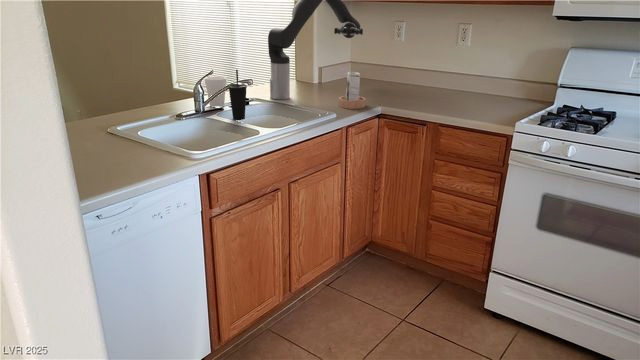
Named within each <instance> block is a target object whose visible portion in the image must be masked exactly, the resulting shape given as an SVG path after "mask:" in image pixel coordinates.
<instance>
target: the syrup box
mask: <svg viewBox="0 0 640 360" xmlns="http://www.w3.org/2000/svg"><path fill="white" fill-rule="evenodd" d="M346 78H347V79H346V89H345V90H346V93H345V96H346V100H348V101H359V97H360V86H361V85H360V84H361V83H360V82H361V81H360V80H361V73H360V72H357V71H348V72H347V77H346Z"/></svg>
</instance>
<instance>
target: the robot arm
mask: <svg viewBox="0 0 640 360" xmlns="http://www.w3.org/2000/svg"><path fill="white" fill-rule="evenodd" d="M323 1H324V0H298V1H297V2H296V3H295V5H294V6H293V7H292V13H291V15H292V16H291V20H290V21H289V23H288V24H287V26H285V27H284V28H281V27H274V28H271V29H270V30H269V32H268V36H267V44H268V45H267V46H268V56H269V59H270V79H269V88H270V89H269V91H270V92H269V93H270V94H269V95H270V98H269V99H274V100H289V99H290V96H291V91H290V90H291V86H290V82H291V79H290V78H291V76H290V75H291V74H290V73H291V72H290V71H291V69H290V67H291V66H290V65H291V64H290V63H291V61H290V60H291V58H290V57H289V55H287V54H286V53H285V51H284V49H286V50H287V49H289V48H290V47H291V46H292V44H293V43H294V42H295V40H296V38H297V36H299V33H300V32H301V30H302V29H303V27H304V26H305V24H306V23H307V21H309V19H310V18H311V17H312V15H313V14H314V13H315V11H316V10H317V9H318V7H319V6H320V4H321V3H322V2H323ZM325 2H326V3H327V4H328V6H329V7H330V9H332V11H333V13H334V14H335V17H336V18H337V20H338V22H340V23H341V24H343V25H341V27H340V28H339V27H334V32H333V33H334V35H337V34H338V35H341V36H343V37H345V38H346V39H352V38H355V36H359V35H361V36H362V35H364V34H363V33H364V29H363V28H361V23H359V21H358V20H357V19H356V18H355V17H353V15H352V14H351V12H350V10H349V9H348V7H347V6H346V4H345V3H344V2H343V1H342V0H325Z"/></svg>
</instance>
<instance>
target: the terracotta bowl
mask: <svg viewBox="0 0 640 360" xmlns="http://www.w3.org/2000/svg"><path fill="white" fill-rule="evenodd" d="M338 106H339V107H340V108H342V109H350V110H351V109H353V110H354V109H355V110H356V109H363V108H366V97H363V96H359V101H348V100H346V95H343V96H339V97H338Z"/></svg>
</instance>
